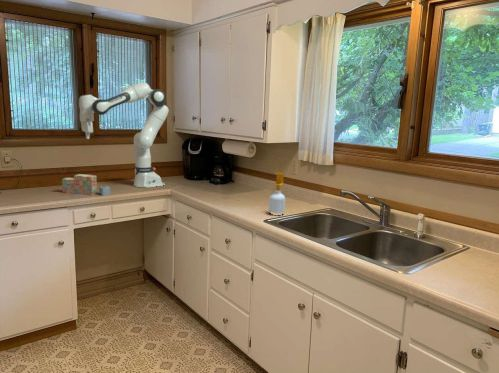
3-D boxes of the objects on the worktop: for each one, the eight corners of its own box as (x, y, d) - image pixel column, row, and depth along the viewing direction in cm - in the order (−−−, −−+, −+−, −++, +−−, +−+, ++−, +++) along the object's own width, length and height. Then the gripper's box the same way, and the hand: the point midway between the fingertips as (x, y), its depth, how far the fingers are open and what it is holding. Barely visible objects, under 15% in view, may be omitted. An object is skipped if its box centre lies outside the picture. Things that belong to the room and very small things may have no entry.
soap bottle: (266, 214, 224) (269, 172, 219) (271, 211, 232) (273, 170, 227) (281, 216, 221) (284, 174, 216) (286, 213, 229) (288, 172, 224)
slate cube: (106, 193, 260) (106, 185, 259) (110, 194, 257) (109, 186, 256) (99, 194, 256) (98, 186, 255) (102, 195, 253) (102, 187, 252)
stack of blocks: (62, 192, 256) (61, 174, 254) (68, 190, 262) (67, 173, 260) (92, 195, 253) (91, 176, 250) (97, 193, 259) (96, 175, 256)
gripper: (95, 119, 259) (95, 139, 262) (88, 117, 276) (89, 137, 279) (84, 119, 256) (86, 140, 259) (79, 117, 273) (80, 137, 276)
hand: (87, 138), depth 269 cm, fingers closed
